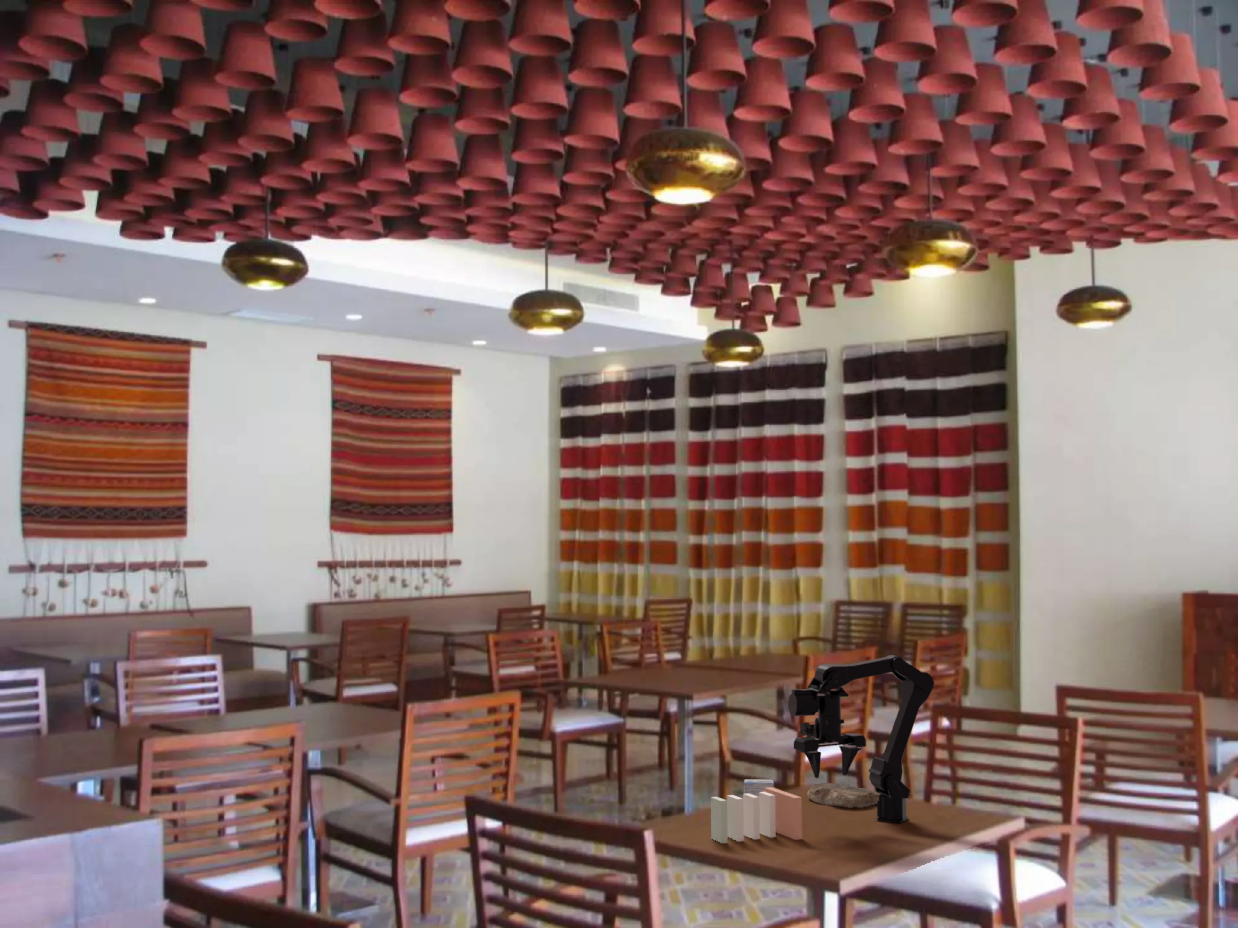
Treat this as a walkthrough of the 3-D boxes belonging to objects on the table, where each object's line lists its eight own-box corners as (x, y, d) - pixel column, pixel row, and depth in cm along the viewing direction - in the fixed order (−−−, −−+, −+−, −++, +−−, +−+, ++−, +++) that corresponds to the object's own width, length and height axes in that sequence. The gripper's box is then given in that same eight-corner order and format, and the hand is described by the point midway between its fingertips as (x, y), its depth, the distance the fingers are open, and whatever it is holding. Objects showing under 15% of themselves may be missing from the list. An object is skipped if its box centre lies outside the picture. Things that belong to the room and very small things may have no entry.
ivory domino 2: (749, 834, 308) (748, 793, 308) (759, 838, 303) (759, 796, 304) (743, 834, 307) (743, 793, 307) (753, 839, 302) (753, 797, 303)
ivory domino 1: (733, 836, 306) (732, 794, 306) (743, 840, 301) (743, 798, 302) (727, 836, 305) (727, 795, 306) (737, 841, 300) (737, 799, 301)
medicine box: (774, 812, 332) (773, 779, 333) (774, 815, 328) (774, 782, 328) (744, 811, 333) (743, 778, 334) (744, 815, 329) (743, 782, 329)
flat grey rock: (795, 800, 348) (852, 810, 333) (794, 782, 349) (852, 792, 334) (827, 795, 358) (884, 804, 343) (827, 777, 358) (884, 786, 343)
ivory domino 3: (764, 832, 309) (764, 791, 310) (775, 836, 305) (775, 795, 305) (759, 833, 309) (758, 792, 309) (769, 837, 304) (769, 795, 305)
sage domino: (717, 838, 304) (716, 796, 304) (727, 842, 299) (726, 800, 300) (711, 838, 303) (710, 796, 304) (721, 843, 299) (720, 800, 299)
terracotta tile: (771, 827, 315) (771, 786, 316) (802, 839, 303) (801, 797, 303) (764, 827, 315) (764, 787, 315) (795, 839, 302) (794, 797, 302)
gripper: (841, 708, 331) (842, 768, 330) (781, 713, 323) (782, 774, 322) (866, 713, 321) (868, 775, 320) (805, 718, 313) (806, 781, 312)
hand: (830, 776), depth 319 cm, fingers open, 8 cm apart
